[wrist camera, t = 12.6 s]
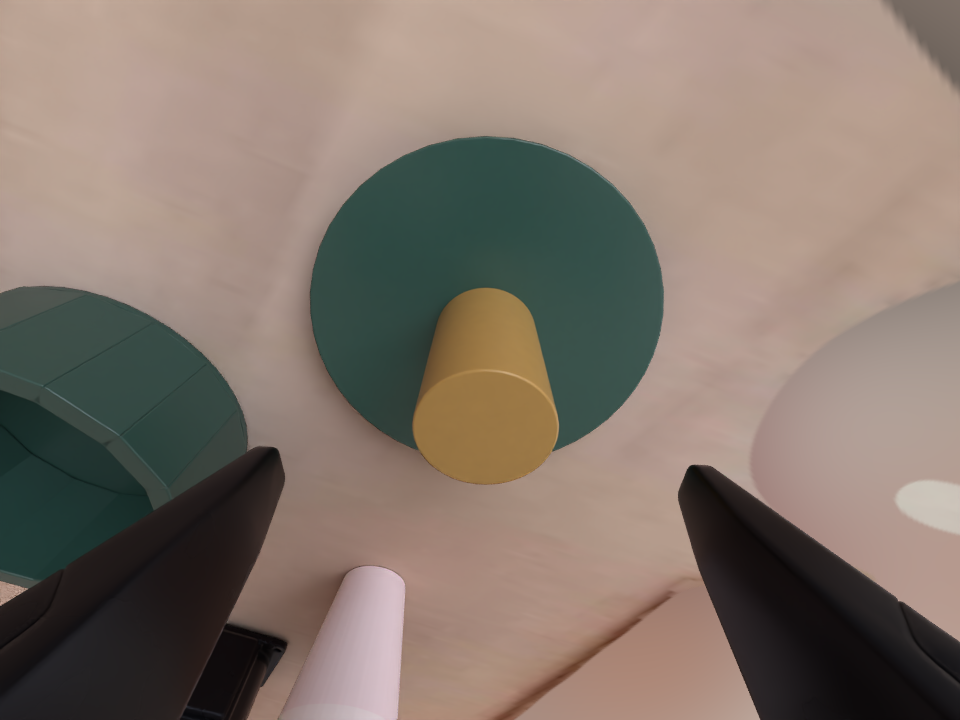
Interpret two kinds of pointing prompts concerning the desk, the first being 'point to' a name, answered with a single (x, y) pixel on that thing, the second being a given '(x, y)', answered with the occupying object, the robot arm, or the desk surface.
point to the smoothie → (354, 653)
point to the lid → (486, 303)
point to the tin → (97, 424)
